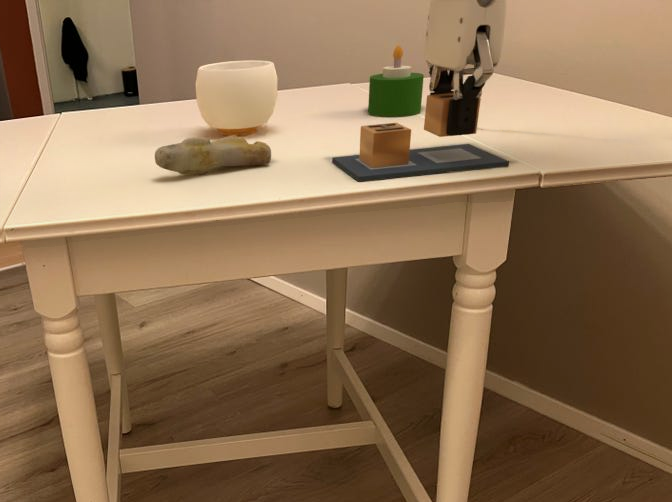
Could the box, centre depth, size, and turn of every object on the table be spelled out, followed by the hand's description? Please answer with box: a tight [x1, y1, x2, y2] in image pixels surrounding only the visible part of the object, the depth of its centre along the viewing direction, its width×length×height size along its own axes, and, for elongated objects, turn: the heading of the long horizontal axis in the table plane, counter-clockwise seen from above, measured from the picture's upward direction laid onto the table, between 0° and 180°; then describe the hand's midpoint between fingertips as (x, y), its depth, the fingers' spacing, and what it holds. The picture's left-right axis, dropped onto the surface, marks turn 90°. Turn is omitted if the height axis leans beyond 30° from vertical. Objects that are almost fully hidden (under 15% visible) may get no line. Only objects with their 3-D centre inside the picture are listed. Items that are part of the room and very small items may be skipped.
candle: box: [367, 44, 425, 118], centre depth 113 cm, size 8×8×10 cm
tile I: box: [423, 93, 482, 138], centre depth 83 cm, size 4×4×4 cm
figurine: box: [154, 135, 272, 176], centre depth 89 cm, size 5×5×15 cm
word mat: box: [331, 143, 510, 183], centre depth 85 cm, size 18×10×1 cm, turn 97°
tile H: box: [358, 122, 412, 168], centre depth 84 cm, size 4×4×4 cm
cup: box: [195, 59, 278, 137], centre depth 107 cm, size 12×12×10 cm
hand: (450, 128), depth 84 cm, fingers closed on tile I, 4 cm apart
